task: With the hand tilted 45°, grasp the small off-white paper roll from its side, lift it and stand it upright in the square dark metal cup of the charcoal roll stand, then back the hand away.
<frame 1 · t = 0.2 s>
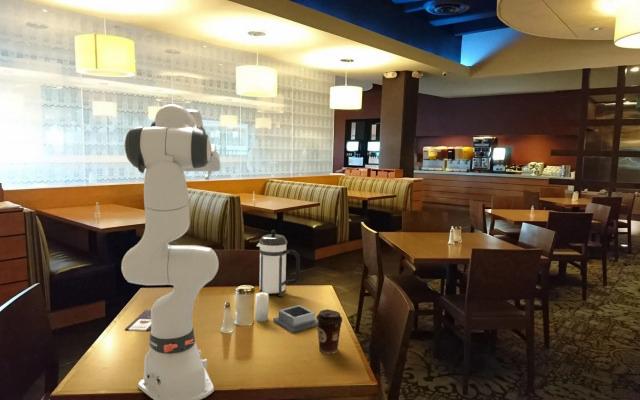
hand: (195, 179, 170), 54 cm above the table, tool tilted 30°, fingers open, 8 cm apart
coffee press: (275, 293, 196), on the table
roll stand: (296, 323, 163), on the table
paper roll: (261, 319, 165), on the table
chocolate bar: (147, 322, 161), on the table
coffee cup: (328, 350, 142), on the table
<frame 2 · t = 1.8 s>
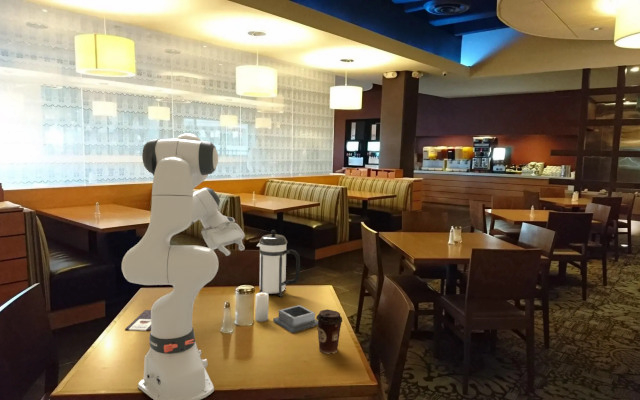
hand: (236, 252, 168), 25 cm above the table, tool tilted 45°, fingers open, 8 cm apart
nothing on the table moved.
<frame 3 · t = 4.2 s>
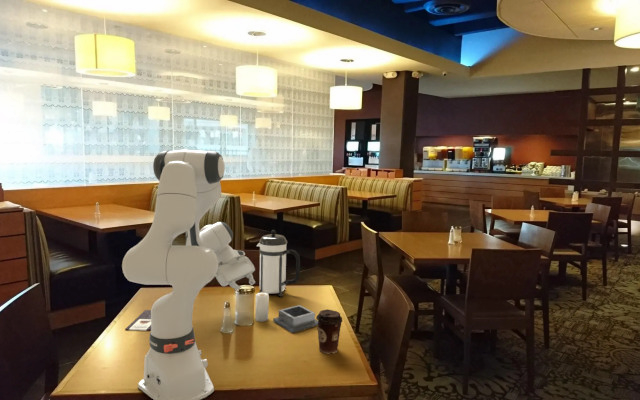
hand: (246, 287, 167), 12 cm above the table, tool tilted 45°, fingers open, 8 cm apart
nothing on the table moved.
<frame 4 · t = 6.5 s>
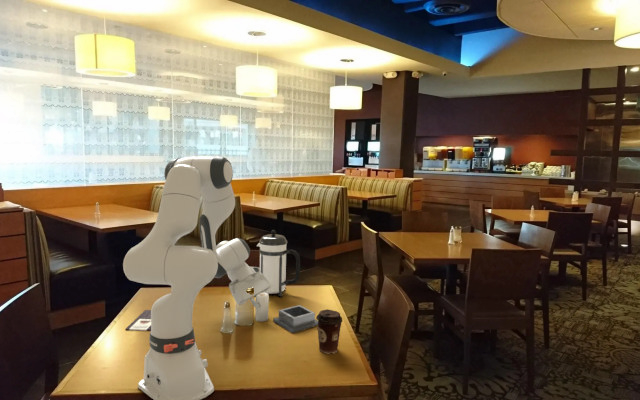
hand: (263, 305, 165), 6 cm above the table, tool tilted 45°, fingers closed on paper roll, 5 cm apart
paper roll: (261, 319, 165), on the table, touching gripper
everything else where it was.
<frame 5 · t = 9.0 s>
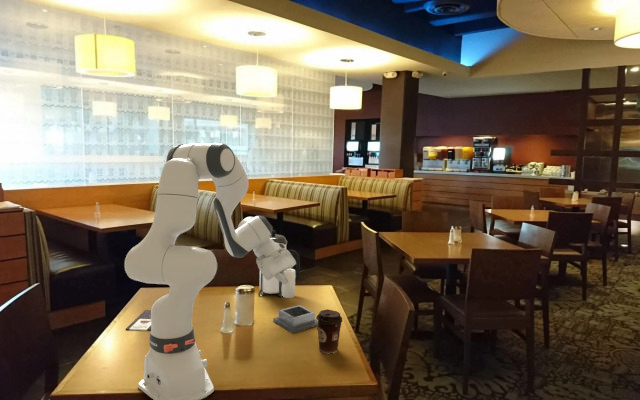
hand: (290, 281, 161), 17 cm above the table, tool tilted 45°, fingers closed on paper roll, 5 cm apart
paper roll: (288, 295, 162), point 11 cm above the table, touching gripper
everything else where it was.
when the fingers open (8 cm above the table, at t = 11.7 s): paper roll stays where it is, resting on roll stand.
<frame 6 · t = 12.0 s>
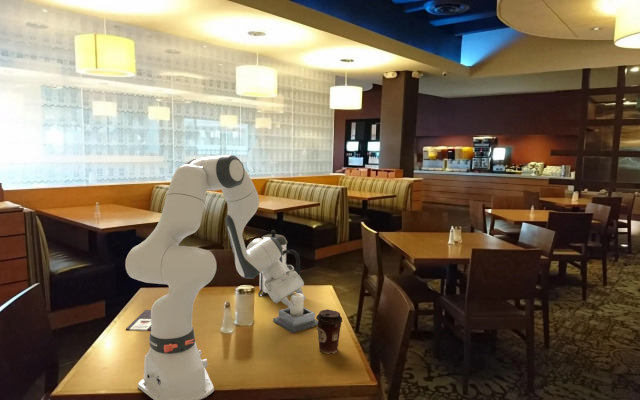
hand: (298, 303, 161), 8 cm above the table, tool tilted 45°, fingers open, 8 cm apart
paper roll: (296, 320, 162), point 1 cm above the table, touching roll stand
everything else where it was.
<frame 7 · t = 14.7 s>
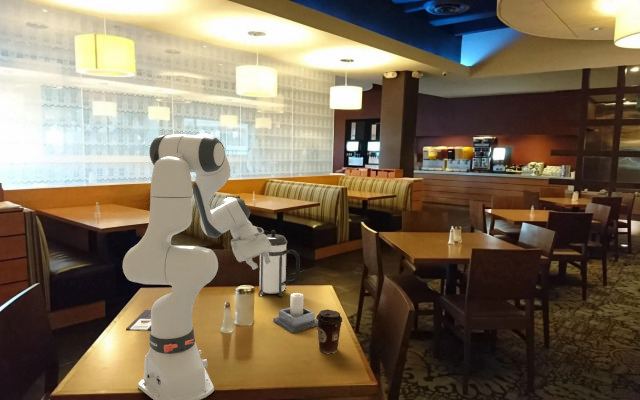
hand: (262, 265, 163), 22 cm above the table, tool tilted 35°, fingers open, 8 cm apart
nothing on the table moved.
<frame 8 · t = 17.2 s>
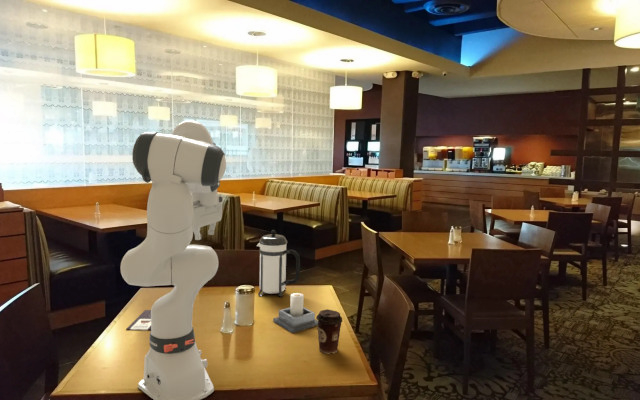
hand: (204, 237, 153), 34 cm above the table, tool pointing down, fingers open, 8 cm apart
nothing on the table moved.
at the end: paper roll 0.1 cm off-centre on the roll stand, point 1.2 cm above the roll stand's base; paper roll tilted 0°; the gripper is holding nothing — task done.
